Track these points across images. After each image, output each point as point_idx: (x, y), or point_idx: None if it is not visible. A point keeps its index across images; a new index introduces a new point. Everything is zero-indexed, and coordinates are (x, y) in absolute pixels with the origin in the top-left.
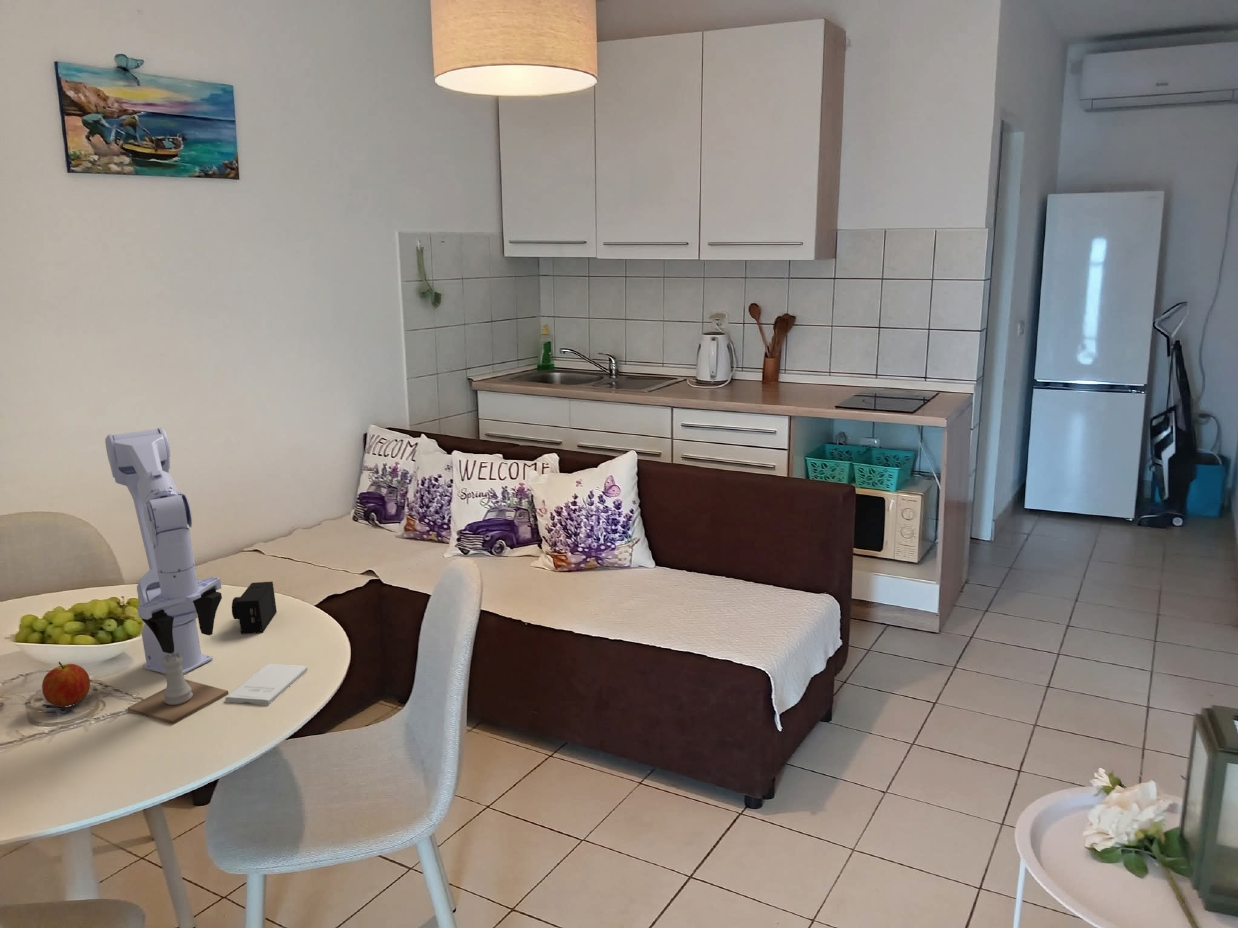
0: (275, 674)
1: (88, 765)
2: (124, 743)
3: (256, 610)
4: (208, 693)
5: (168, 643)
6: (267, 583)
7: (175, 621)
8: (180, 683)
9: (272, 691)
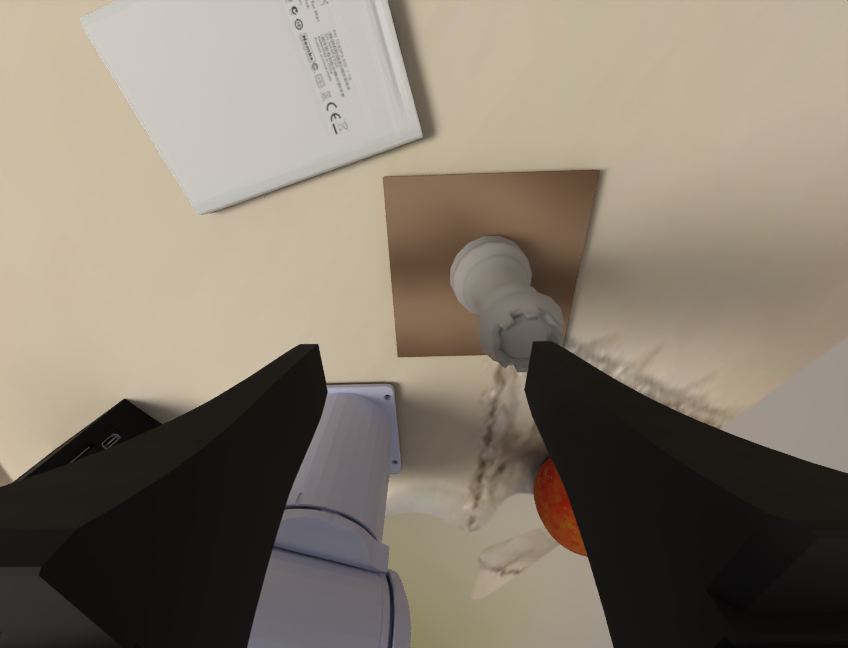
0: (213, 96)
1: (840, 190)
2: (715, 207)
3: (69, 456)
4: (424, 224)
5: (596, 368)
6: None
7: (326, 533)
8: (505, 267)
9: None
